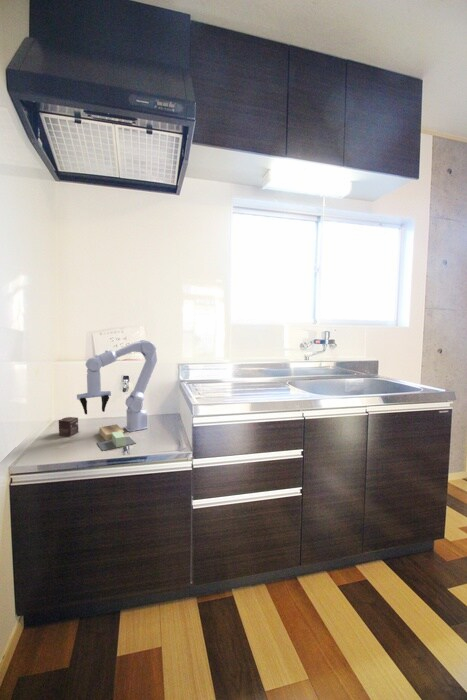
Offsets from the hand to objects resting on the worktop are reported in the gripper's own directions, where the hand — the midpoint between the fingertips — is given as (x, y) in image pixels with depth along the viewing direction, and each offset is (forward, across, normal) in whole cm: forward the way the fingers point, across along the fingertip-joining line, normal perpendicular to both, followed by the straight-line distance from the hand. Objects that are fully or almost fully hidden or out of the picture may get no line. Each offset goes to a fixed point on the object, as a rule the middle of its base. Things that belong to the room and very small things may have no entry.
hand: (94, 412), depth 155 cm
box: (+11, -10, +7) cm, 16 cm away
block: (+8, +6, -14) cm, 17 cm away
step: (+10, +6, -6) cm, 13 cm away
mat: (+10, +5, -17) cm, 20 cm away
